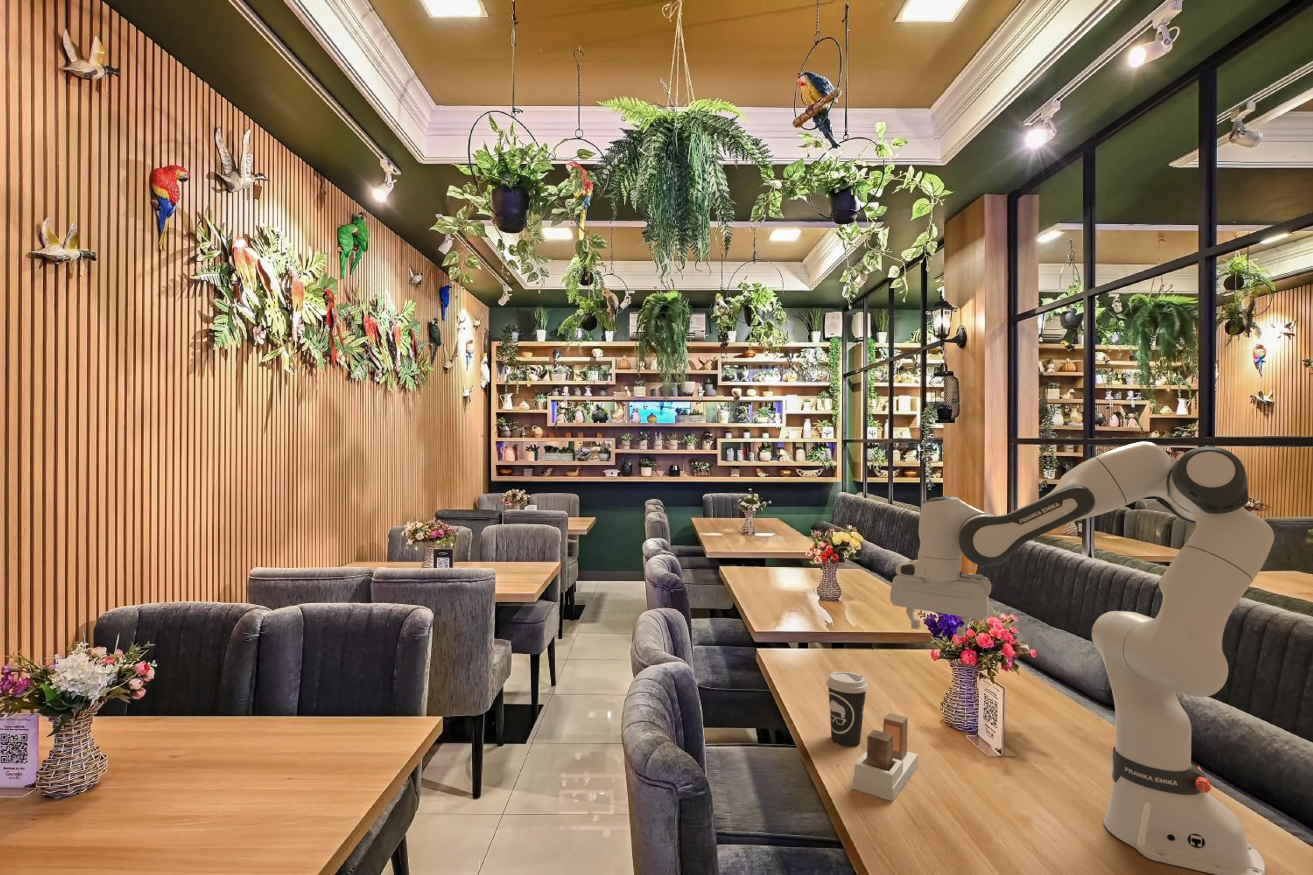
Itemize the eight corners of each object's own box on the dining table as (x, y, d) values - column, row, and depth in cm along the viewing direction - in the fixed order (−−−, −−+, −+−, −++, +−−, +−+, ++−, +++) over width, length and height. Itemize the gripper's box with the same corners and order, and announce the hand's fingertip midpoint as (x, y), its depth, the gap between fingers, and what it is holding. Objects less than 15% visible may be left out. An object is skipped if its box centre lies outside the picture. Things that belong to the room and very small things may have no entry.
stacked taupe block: (893, 772, 137) (894, 733, 138) (886, 781, 134) (887, 741, 134) (873, 767, 140) (874, 728, 140) (866, 775, 136) (867, 735, 136)
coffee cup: (868, 751, 153) (870, 685, 153) (825, 746, 154) (827, 681, 155) (864, 734, 162) (866, 672, 162) (823, 730, 164) (825, 668, 164)
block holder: (917, 765, 146) (918, 717, 147) (892, 801, 131) (894, 747, 131) (880, 755, 151) (881, 708, 151) (852, 788, 135) (853, 736, 136)
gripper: (993, 573, 144) (992, 638, 144) (896, 562, 156) (895, 621, 156) (988, 577, 139) (987, 644, 139) (888, 565, 151) (887, 627, 150)
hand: (937, 632), depth 147 cm, fingers open, 8 cm apart
